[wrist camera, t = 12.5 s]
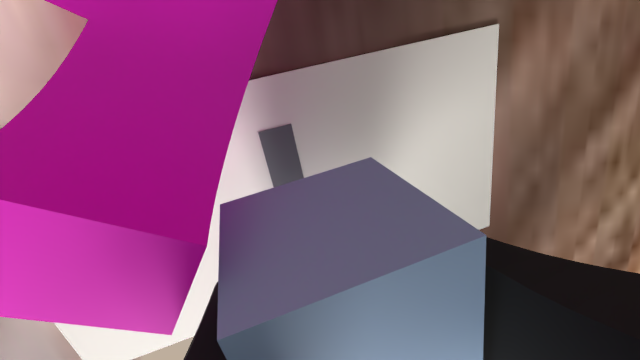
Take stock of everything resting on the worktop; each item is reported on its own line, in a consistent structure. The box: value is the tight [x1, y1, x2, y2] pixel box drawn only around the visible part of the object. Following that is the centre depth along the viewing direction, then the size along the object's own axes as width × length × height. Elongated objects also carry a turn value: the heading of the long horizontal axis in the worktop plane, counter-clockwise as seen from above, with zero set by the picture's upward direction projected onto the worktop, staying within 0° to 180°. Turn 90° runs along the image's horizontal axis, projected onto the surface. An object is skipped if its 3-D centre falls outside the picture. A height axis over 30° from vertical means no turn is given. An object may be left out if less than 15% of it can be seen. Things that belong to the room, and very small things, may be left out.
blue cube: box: [217, 157, 486, 360], centre depth 9 cm, size 5×5×5 cm
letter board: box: [54, 24, 499, 360], centre depth 14 cm, size 11×22×1 cm, turn 101°
